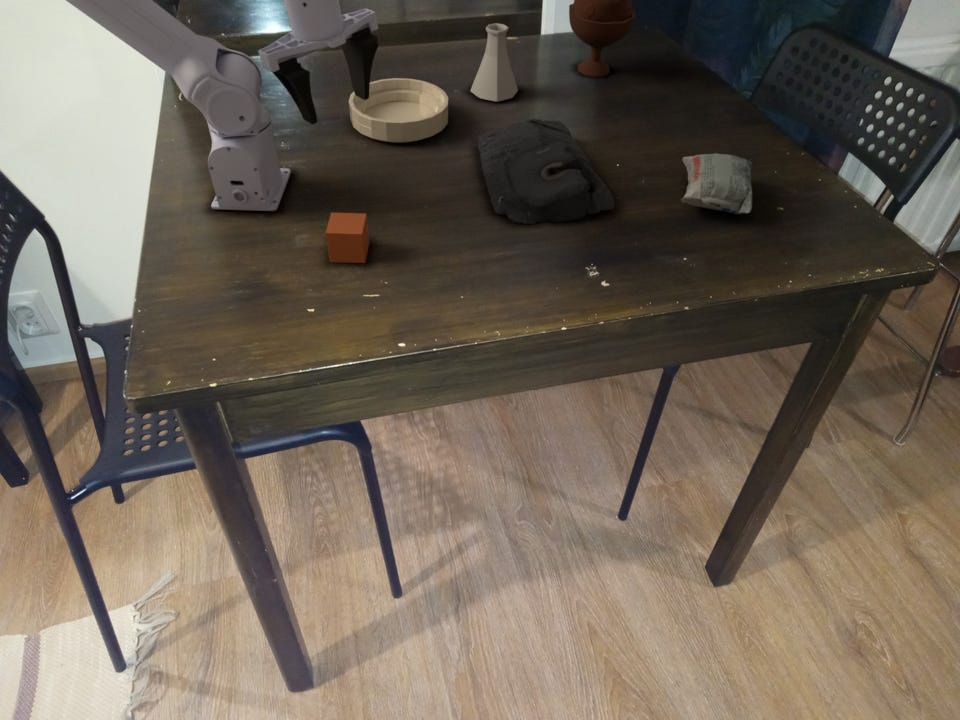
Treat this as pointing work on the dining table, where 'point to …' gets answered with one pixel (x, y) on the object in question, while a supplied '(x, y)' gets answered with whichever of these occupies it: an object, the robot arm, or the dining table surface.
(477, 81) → the flask
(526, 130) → the dark slate chunk
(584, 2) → the ice cream bowl
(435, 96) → the bowl
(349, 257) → the block
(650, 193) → the dining table surface
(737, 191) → the packaged food
